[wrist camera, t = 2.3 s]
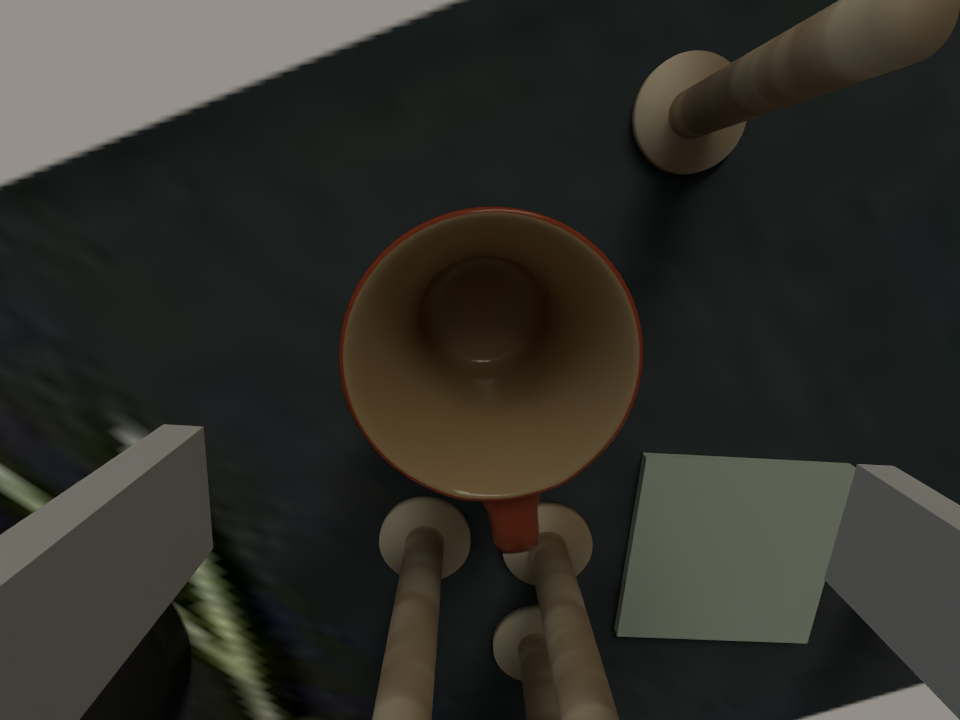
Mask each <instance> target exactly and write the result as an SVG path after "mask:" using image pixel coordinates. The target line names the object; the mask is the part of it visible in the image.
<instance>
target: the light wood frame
mask: <svg viewBox="0 0 960 720" xmlns="http://www.w3.org/2000/svg"><path fill="white" fill-rule="evenodd" d="M538 522H539V533H540V539H539V544H538V546H537V547H536V548H535V549H533V550H531V551H527V552H522V553H515V554H503V557H504V561H505V563H506V565H507V567H508V568H509V570H510V571H511V572H512V573H513V574H514V575H515V576H516V577H517V578H519V579H520V580H522V581H524V582H526V583H528V584H531V585H535V586H536V592H537V597H538V602H539V605H528V606H523V607H520V608H517V609H515V610H513V611H511V612H510V613H508V614H507V615H506V616H505V617H503V618H502V620H501V621H500V622H499V623H498V625H497V627H496V629H495V631H494V635H493V652H494V657H495V660H496V662H497V664H498V665H499V667H500V668H501V669H502V670H503V671H504V672H505V673H506V674H507V675H509V676H511V677H513V678H515V679H518V680H521V681H522V686H523V694H524V703H525V711H526V720H619V717H618V714H617V710H616V707H615V704H614V701H613V697H612V694H611V691H610V687H609V684H608V681H607V677H606V674H605V671H604V668H603V664H602V661H601V658H600V654H599V651H598V648H597V644H596V641H595V638H594V635H593V631H592V628H591V625H590V621H589V618H588V615H587V611H586V608H585V605H584V602H583V598H582V595H581V592H580V588H579V585H578V582H577V579H576V576H577V575H578V574H579V573H580V572H581V571H582V570H583V569H584V568H585V566H586V565H587V563H588V561H589V559H590V557H591V553H592V546H593V544H592V537H591V534H590V531H589V528H588V526H587V523H586V522H585V520H584V519H583V517H582V516H581V515H580V514H579V513H578V512H577V511H575V510H574V509H573V508H571V507H569V506H567V505H564V504H561V503H557V502H540V503H539V505H538ZM379 547H380V551H381V554H382V557H383V558H384V560H385V562H386V563H387V564H388V566H389V567H390V568H391V569H392V570H394V571H395V572H396V573H398V574H399V580H398V585H397V590H396V596H395V601H394V606H393V612H392V617H391V622H390V628H389V633H388V638H387V644H386V649H385V654H384V659H383V665H382V670H381V675H380V681H379V686H378V691H377V697H376V702H375V707H374V713H373V718H372V720H432V707H433V692H434V678H435V664H436V649H437V635H438V621H439V606H440V592H441V579H443V578H445V577H447V576H449V575H451V574H453V573H454V572H456V571H457V570H458V569H459V568H460V567H461V566H462V565H463V563H464V562H465V560H466V558H467V556H468V554H469V550H470V527H469V524H468V522H467V520H466V518H465V516H464V515H463V513H462V512H461V511H460V510H459V509H458V508H457V507H456V506H455V505H453V504H452V503H450V502H448V501H446V500H444V499H441V498H438V497H433V496H418V497H413V498H409V499H407V500H404V501H402V502H400V503H399V504H397V505H396V506H395V507H394V508H392V509H391V510H390V512H389V513H388V514H387V516H386V517H385V519H384V521H383V524H382V528H381V531H380V535H379Z"/></svg>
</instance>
